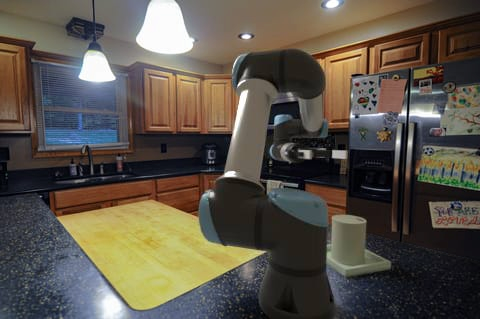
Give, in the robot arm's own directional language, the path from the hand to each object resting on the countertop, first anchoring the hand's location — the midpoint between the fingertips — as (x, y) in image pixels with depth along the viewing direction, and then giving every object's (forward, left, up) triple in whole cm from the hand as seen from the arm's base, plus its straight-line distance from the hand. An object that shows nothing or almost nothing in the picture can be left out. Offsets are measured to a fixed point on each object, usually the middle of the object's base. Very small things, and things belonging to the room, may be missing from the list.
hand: (329, 154), depth 81 cm
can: (0, -10, -30) cm, 31 cm away
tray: (0, -10, -30) cm, 32 cm away
